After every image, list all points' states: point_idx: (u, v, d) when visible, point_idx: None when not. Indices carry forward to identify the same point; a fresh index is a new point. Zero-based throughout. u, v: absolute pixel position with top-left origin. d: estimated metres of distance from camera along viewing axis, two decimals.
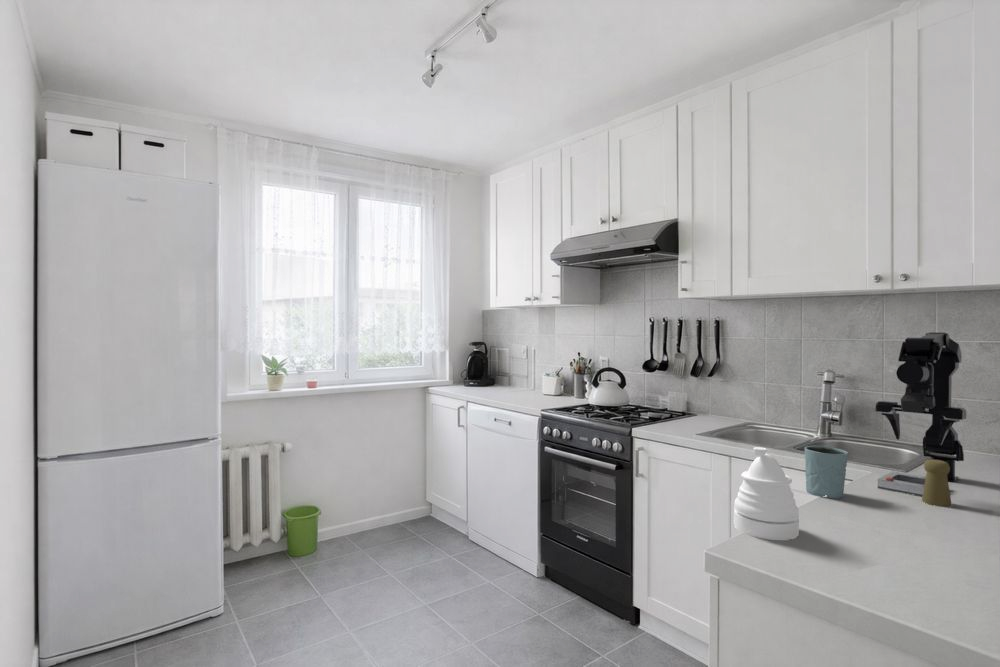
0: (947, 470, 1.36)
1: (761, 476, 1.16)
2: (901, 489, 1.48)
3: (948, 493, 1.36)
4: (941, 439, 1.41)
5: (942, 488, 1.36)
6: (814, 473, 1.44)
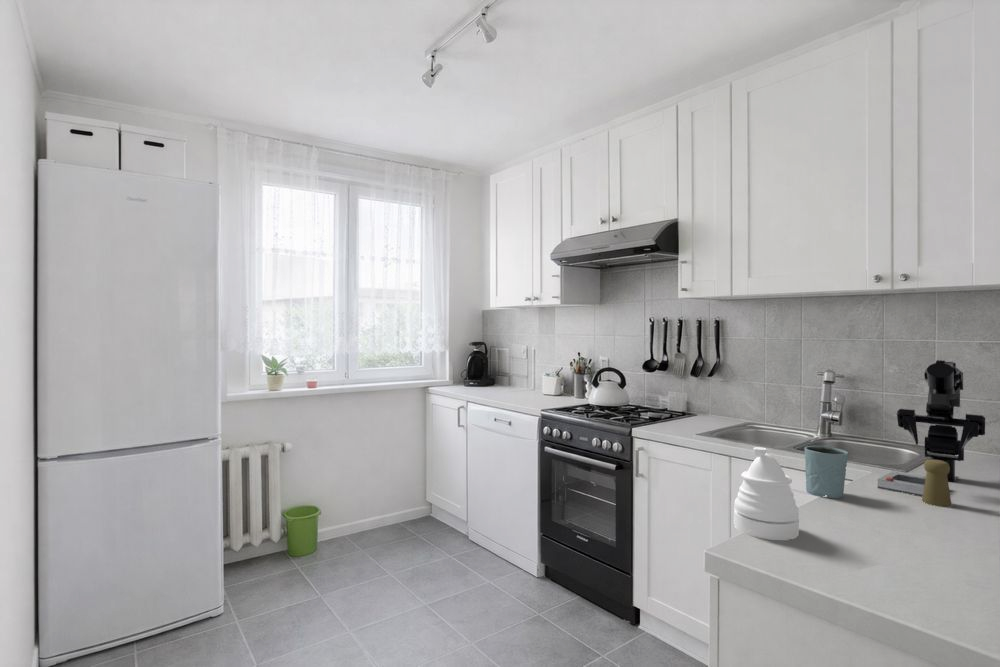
0: (947, 470, 1.36)
1: (761, 476, 1.16)
2: (901, 489, 1.48)
3: (948, 493, 1.36)
4: (962, 442, 1.42)
5: (942, 488, 1.36)
6: (814, 473, 1.44)
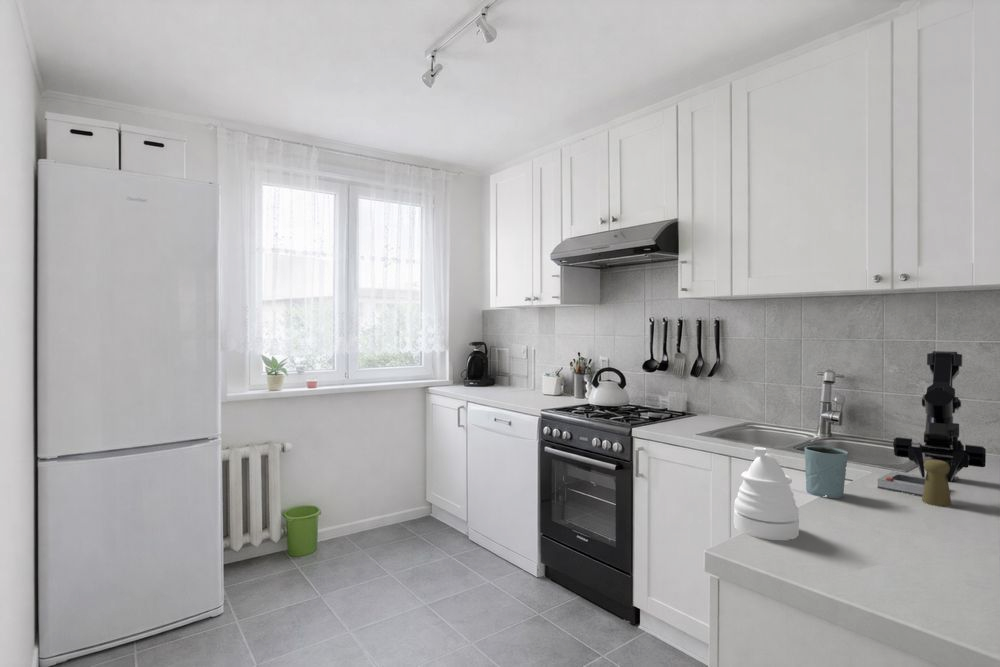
0: (947, 470, 1.36)
1: (761, 476, 1.16)
2: (901, 489, 1.48)
3: (948, 493, 1.36)
4: (952, 473, 1.36)
5: (942, 488, 1.36)
6: (814, 473, 1.44)
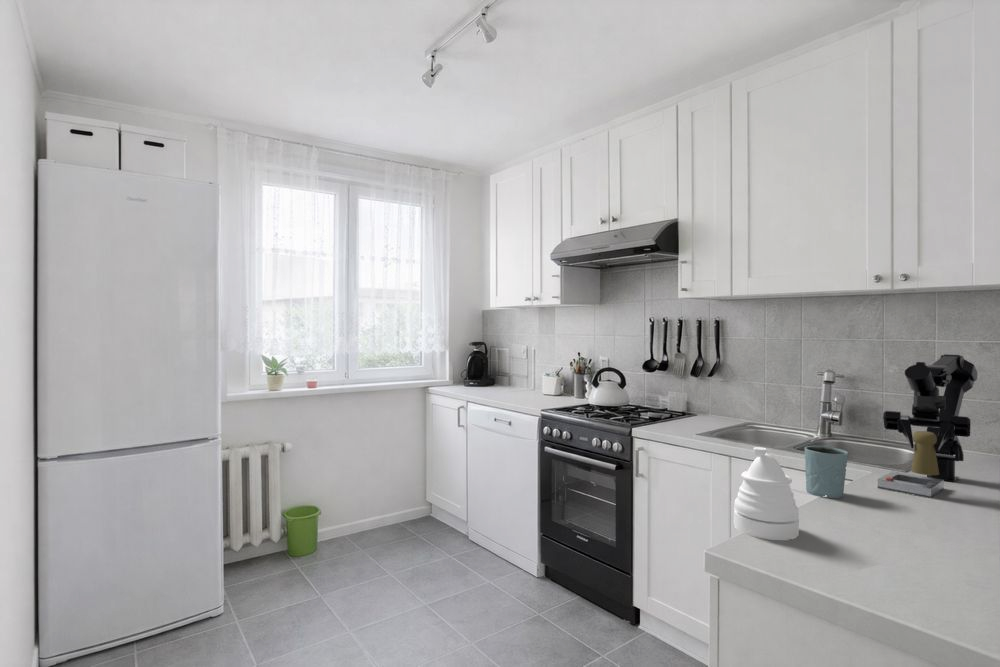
0: (934, 440, 1.43)
1: (761, 476, 1.16)
2: (901, 489, 1.48)
3: (936, 462, 1.43)
4: (939, 443, 1.43)
5: (930, 457, 1.43)
6: (814, 473, 1.44)
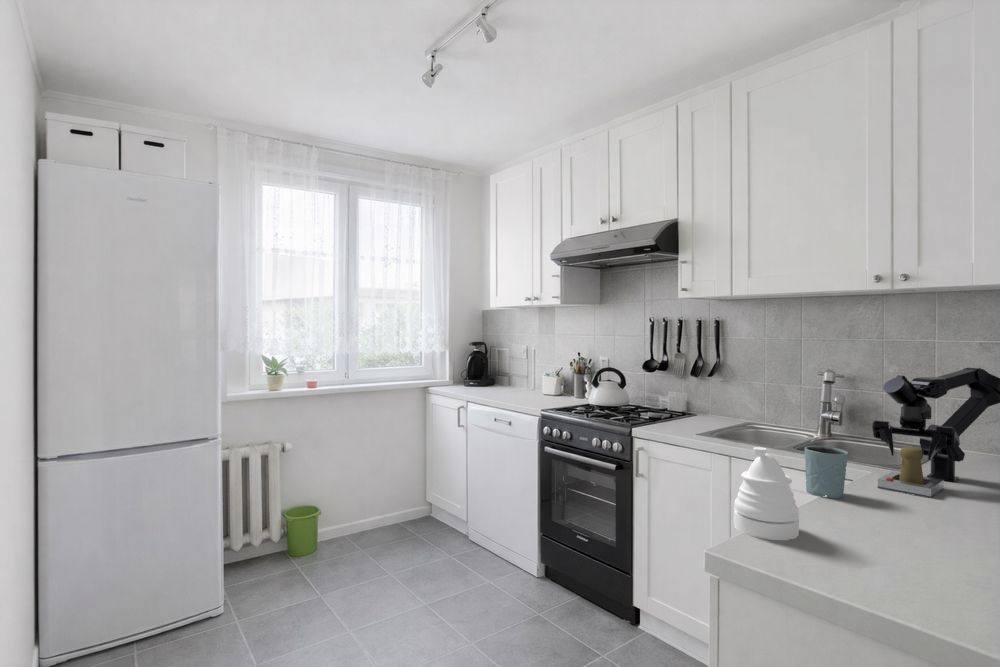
0: (920, 456, 1.49)
1: (761, 476, 1.16)
2: (901, 489, 1.48)
3: (921, 477, 1.49)
4: (931, 453, 1.48)
5: (916, 472, 1.49)
6: (814, 473, 1.44)
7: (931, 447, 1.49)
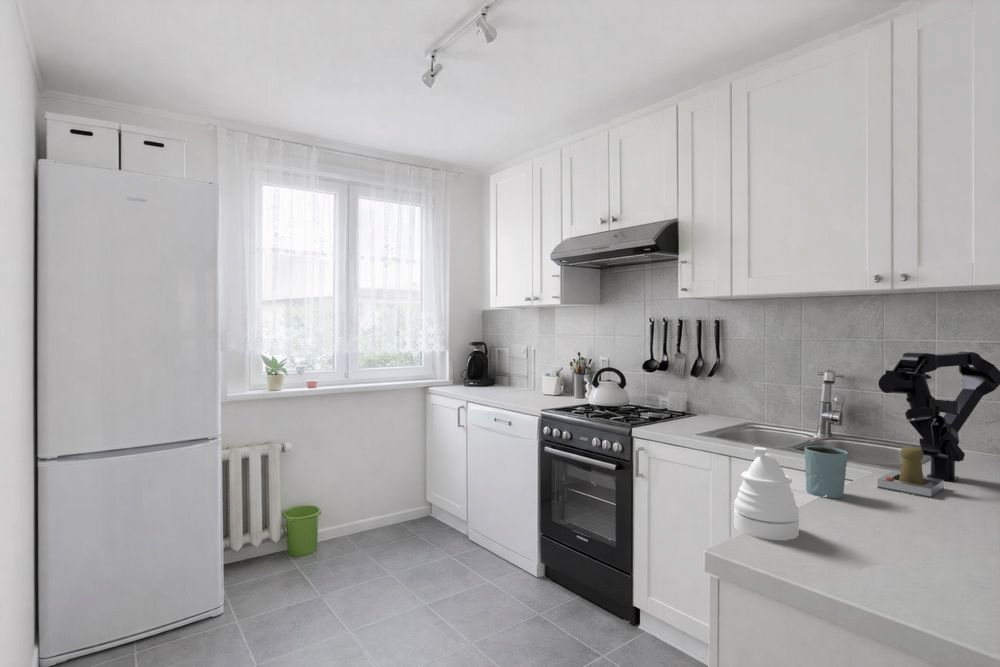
0: (921, 456, 1.49)
1: (761, 476, 1.16)
2: (901, 489, 1.48)
3: (922, 477, 1.49)
4: (940, 443, 1.57)
5: (916, 472, 1.49)
6: (814, 473, 1.44)
7: (940, 437, 1.57)
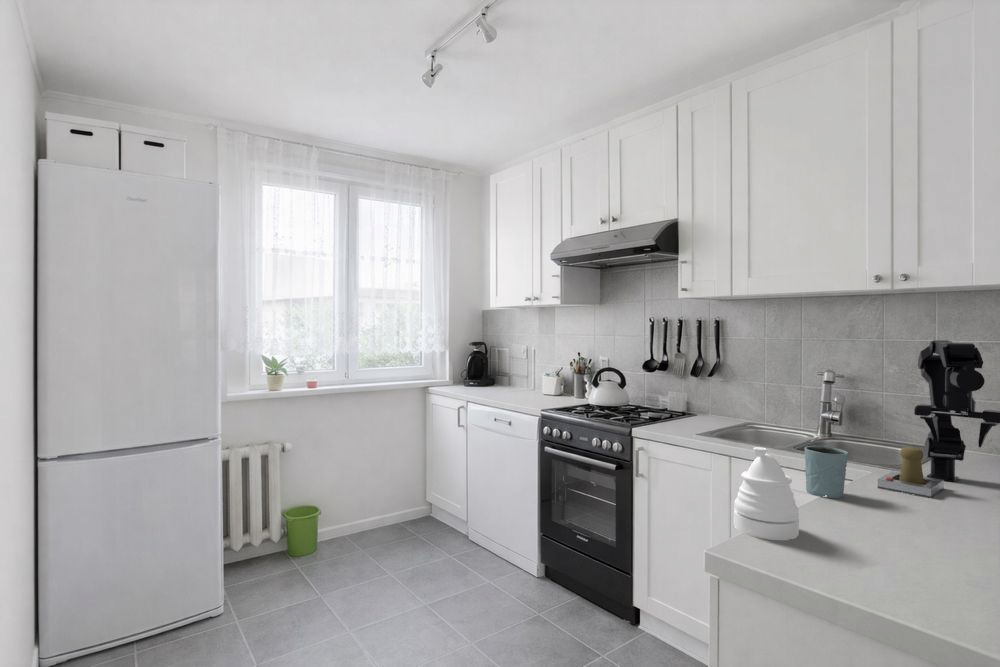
0: (921, 456, 1.49)
1: (761, 476, 1.16)
2: (901, 489, 1.48)
3: (922, 477, 1.49)
4: None
5: (916, 472, 1.49)
6: (814, 473, 1.44)
7: None
